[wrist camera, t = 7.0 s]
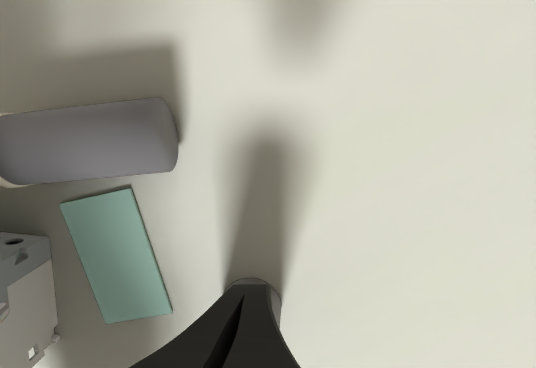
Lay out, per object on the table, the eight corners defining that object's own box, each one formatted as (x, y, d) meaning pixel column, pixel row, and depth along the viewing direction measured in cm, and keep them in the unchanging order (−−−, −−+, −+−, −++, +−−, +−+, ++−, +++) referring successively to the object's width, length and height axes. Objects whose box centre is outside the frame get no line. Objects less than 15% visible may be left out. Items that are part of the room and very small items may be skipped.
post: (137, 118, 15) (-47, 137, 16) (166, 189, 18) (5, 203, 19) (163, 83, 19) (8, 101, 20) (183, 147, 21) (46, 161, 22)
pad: (172, 311, 23) (171, 313, 23) (107, 322, 24) (105, 324, 24) (131, 187, 21) (129, 188, 21) (60, 203, 22) (58, 204, 22)
